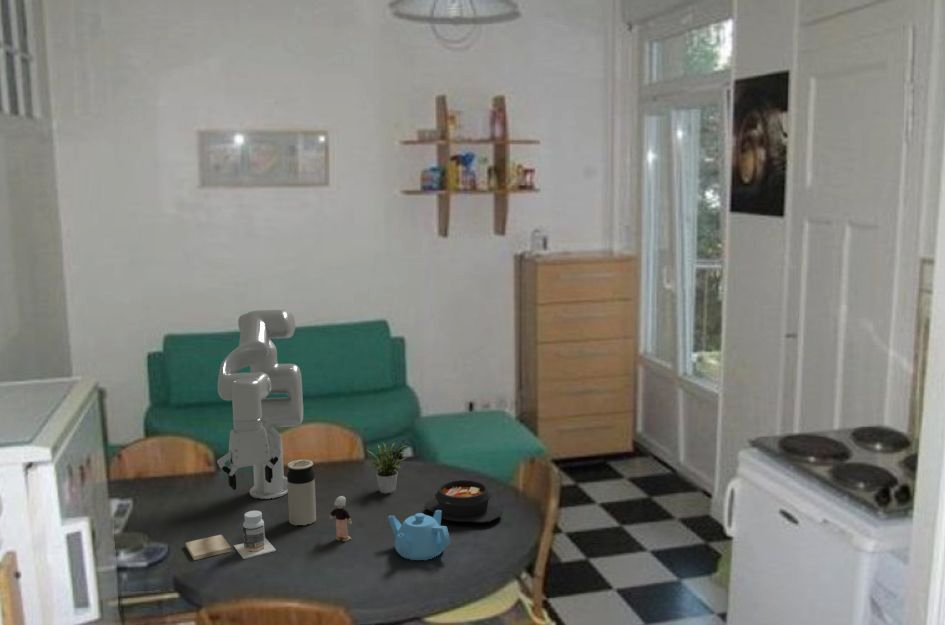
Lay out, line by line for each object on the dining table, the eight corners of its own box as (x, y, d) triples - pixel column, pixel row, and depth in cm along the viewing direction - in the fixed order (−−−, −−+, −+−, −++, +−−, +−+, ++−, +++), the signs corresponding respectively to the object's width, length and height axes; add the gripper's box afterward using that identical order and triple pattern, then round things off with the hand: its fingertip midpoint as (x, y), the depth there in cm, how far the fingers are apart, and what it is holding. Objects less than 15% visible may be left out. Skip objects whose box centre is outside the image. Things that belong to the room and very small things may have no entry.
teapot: (396, 567, 221) (395, 528, 219) (388, 543, 235) (387, 507, 233) (452, 560, 224) (452, 522, 222) (441, 537, 239) (440, 501, 237)
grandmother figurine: (357, 537, 239) (355, 495, 237) (350, 543, 235) (349, 500, 233) (333, 534, 241) (331, 492, 239) (326, 539, 238) (324, 497, 236)
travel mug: (321, 518, 253) (319, 461, 250) (305, 528, 245) (303, 469, 243) (299, 514, 256) (297, 457, 253) (283, 523, 249) (281, 466, 246)
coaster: (221, 538, 239) (221, 534, 239) (231, 551, 231) (231, 547, 231) (185, 546, 234) (185, 542, 234) (194, 560, 226) (194, 556, 225)
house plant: (421, 488, 276) (420, 441, 273) (395, 502, 264) (394, 453, 261) (387, 480, 283) (386, 434, 280) (361, 493, 272) (359, 445, 269)
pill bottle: (246, 543, 235) (244, 510, 233) (266, 542, 235) (265, 509, 233) (242, 552, 229) (240, 518, 227) (263, 551, 229) (261, 517, 228)
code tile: (265, 539, 238) (265, 537, 238) (275, 551, 231) (275, 549, 231) (234, 546, 234) (234, 545, 234) (243, 559, 226) (243, 557, 226)
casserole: (412, 516, 253) (411, 490, 252) (446, 496, 269) (446, 471, 267) (481, 535, 240) (481, 507, 239) (514, 512, 255) (514, 486, 254)
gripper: (274, 416, 234) (277, 475, 236) (212, 426, 225) (215, 486, 227) (283, 422, 227) (286, 482, 230) (219, 432, 219) (223, 495, 221)
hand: (251, 484), depth 229 cm, fingers open, 9 cm apart
